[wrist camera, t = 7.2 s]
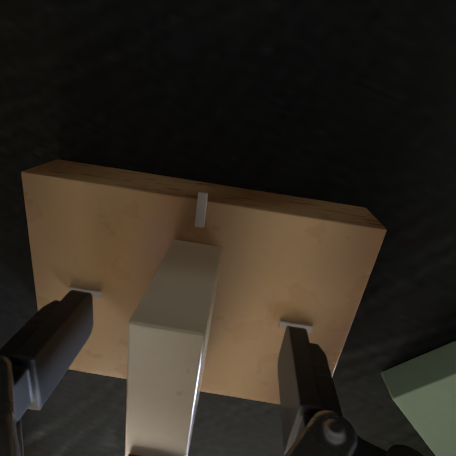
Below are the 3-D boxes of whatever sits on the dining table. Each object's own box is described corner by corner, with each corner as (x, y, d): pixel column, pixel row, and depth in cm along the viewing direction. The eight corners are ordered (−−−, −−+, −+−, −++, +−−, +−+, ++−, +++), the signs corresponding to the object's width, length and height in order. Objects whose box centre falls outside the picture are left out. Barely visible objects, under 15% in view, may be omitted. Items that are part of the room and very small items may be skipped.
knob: (173, 238, 13) (124, 327, 8) (222, 246, 13) (203, 341, 8) (162, 359, 15) (120, 483, 10) (204, 366, 15) (181, 493, 10)
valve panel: (368, 199, 14) (392, 222, 12) (310, 375, 18) (318, 419, 16) (56, 151, 14) (16, 163, 12) (70, 336, 19) (43, 373, 16)
